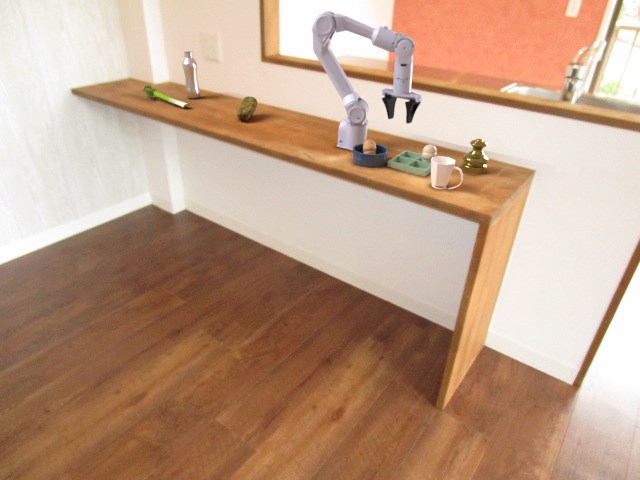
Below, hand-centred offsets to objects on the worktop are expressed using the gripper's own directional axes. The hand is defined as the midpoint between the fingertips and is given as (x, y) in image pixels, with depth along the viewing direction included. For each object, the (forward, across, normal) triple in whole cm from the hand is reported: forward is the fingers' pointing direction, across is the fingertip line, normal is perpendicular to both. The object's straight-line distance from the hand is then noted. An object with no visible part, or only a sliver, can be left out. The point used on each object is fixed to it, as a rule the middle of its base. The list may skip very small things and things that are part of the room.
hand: (399, 120), depth 152 cm
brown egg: (+9, -1, +16) cm, 18 cm away
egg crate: (+11, -13, +7) cm, 18 cm away
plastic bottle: (+6, +107, +16) cm, 108 cm away
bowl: (+10, -1, +16) cm, 19 cm away
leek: (+6, +106, +30) cm, 111 cm away
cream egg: (+10, -15, +4) cm, 19 cm away
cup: (+11, -28, +15) cm, 34 cm away
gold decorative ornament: (+12, -27, -4) cm, 29 cm away
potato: (+8, +64, +17) cm, 67 cm away
